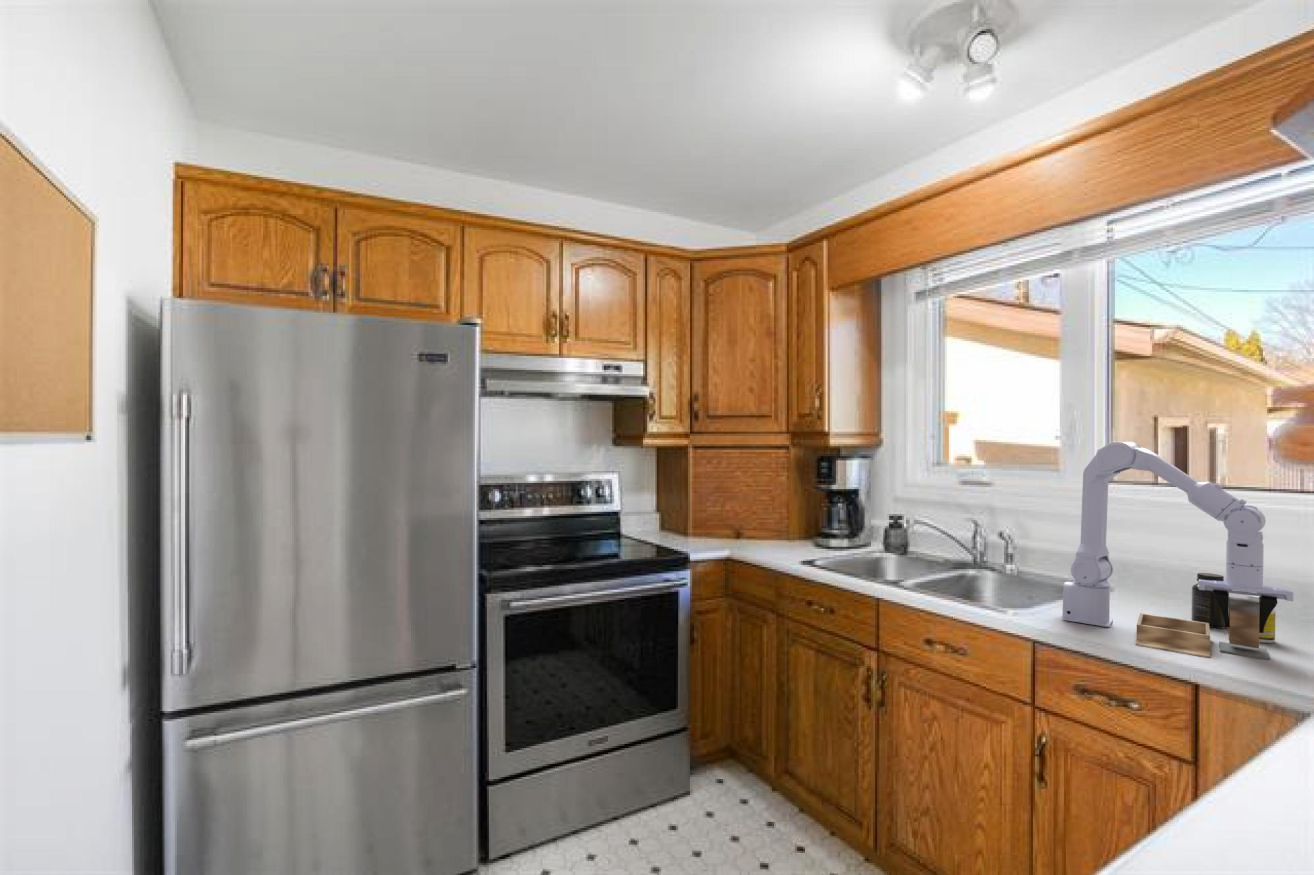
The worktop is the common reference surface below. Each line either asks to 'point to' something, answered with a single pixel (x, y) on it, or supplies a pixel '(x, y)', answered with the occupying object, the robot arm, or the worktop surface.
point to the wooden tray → (1173, 635)
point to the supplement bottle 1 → (1206, 603)
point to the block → (1244, 622)
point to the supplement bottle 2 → (1266, 626)
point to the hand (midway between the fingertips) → (1243, 629)
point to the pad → (1244, 650)
